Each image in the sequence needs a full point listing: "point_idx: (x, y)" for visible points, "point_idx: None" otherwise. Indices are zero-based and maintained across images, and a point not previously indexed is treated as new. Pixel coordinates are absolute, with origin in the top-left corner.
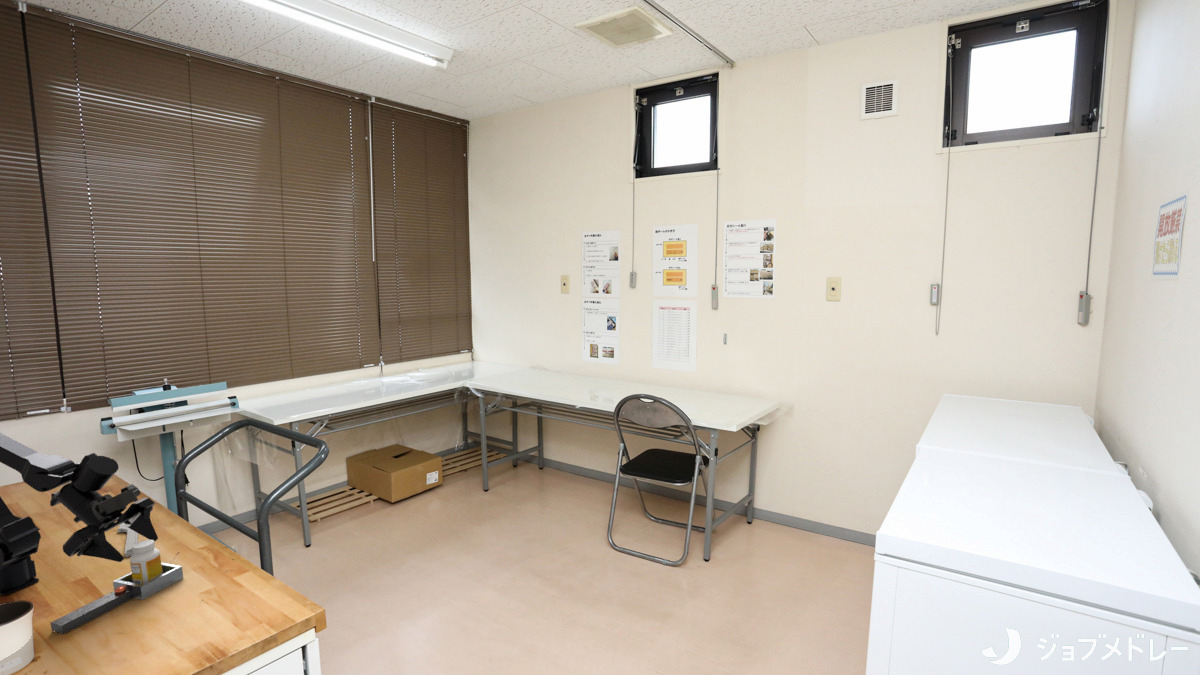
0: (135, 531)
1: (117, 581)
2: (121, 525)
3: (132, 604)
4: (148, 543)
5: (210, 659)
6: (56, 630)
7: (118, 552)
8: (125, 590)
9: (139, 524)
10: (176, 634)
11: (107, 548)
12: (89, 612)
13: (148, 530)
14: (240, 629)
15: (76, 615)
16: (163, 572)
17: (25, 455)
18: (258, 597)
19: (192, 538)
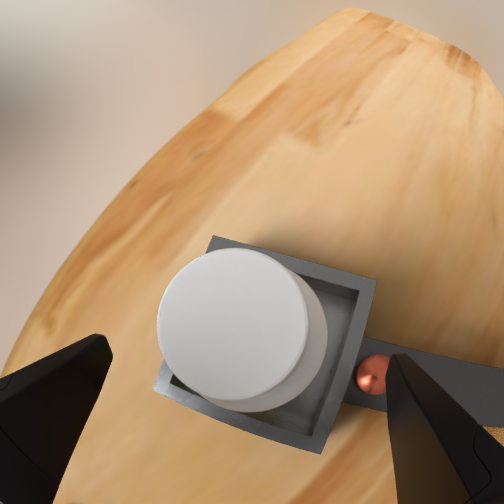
0: (58, 485)
1: (325, 431)
2: None
3: (391, 308)
4: (230, 274)
5: (466, 56)
6: None
7: (416, 388)
8: (371, 355)
9: (14, 461)
10: (457, 109)
11: (490, 435)
12: (484, 365)
13: (53, 389)
14: (409, 44)
15: (500, 387)
16: None
17: None
18: (323, 50)
19: None
